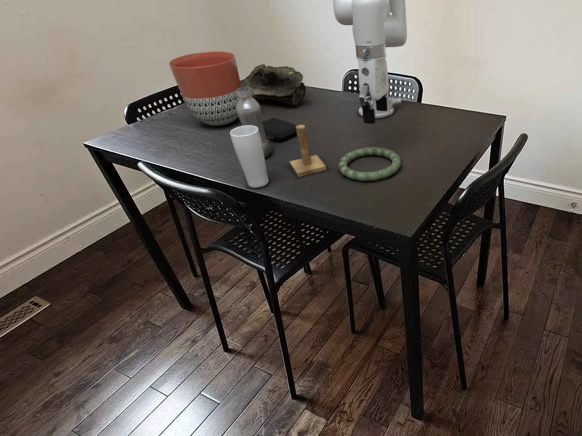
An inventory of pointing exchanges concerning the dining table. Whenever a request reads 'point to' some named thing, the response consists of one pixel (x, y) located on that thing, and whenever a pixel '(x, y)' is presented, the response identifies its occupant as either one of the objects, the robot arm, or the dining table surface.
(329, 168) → the dining table surface
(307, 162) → the coat peg
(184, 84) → the planter
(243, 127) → the drinking glass
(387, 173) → the hoop
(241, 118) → the plastic bottle
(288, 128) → the carrying case
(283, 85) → the hollow geode rock
